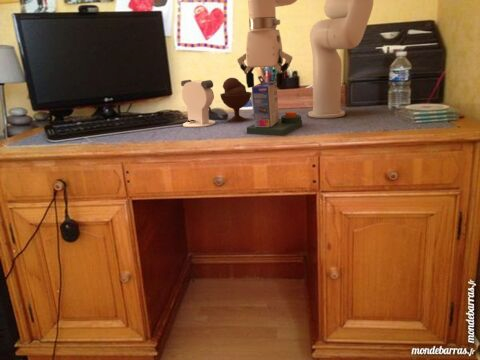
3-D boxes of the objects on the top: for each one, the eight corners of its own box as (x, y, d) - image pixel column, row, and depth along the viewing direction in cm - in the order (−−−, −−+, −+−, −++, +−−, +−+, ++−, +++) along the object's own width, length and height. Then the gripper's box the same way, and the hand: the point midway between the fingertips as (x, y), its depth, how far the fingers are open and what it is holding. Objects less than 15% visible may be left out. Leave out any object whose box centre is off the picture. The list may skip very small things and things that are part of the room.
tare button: (288, 116, 123) (288, 111, 123) (297, 116, 122) (297, 111, 121) (284, 118, 121) (284, 113, 120) (293, 118, 119) (293, 113, 119)
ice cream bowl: (249, 122, 133) (247, 77, 128) (218, 123, 135) (215, 79, 130) (254, 117, 143) (252, 75, 138) (225, 117, 145) (222, 76, 140)
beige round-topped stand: (223, 122, 137) (220, 78, 132) (202, 128, 129) (197, 82, 124) (197, 120, 144) (194, 78, 139) (176, 126, 136) (171, 82, 131)
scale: (268, 124, 129) (267, 113, 128) (303, 125, 123) (303, 114, 122) (246, 133, 117) (246, 122, 116) (285, 136, 111) (284, 124, 110)
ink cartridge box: (262, 121, 124) (260, 74, 120) (279, 121, 123) (277, 74, 118) (253, 127, 116) (250, 77, 111) (271, 128, 114) (269, 77, 109)
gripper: (296, 23, 109) (297, 85, 114) (242, 27, 117) (245, 85, 123) (285, 22, 103) (287, 88, 108) (229, 27, 111) (233, 88, 117)
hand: (265, 87), depth 115 cm, fingers open, 9 cm apart
